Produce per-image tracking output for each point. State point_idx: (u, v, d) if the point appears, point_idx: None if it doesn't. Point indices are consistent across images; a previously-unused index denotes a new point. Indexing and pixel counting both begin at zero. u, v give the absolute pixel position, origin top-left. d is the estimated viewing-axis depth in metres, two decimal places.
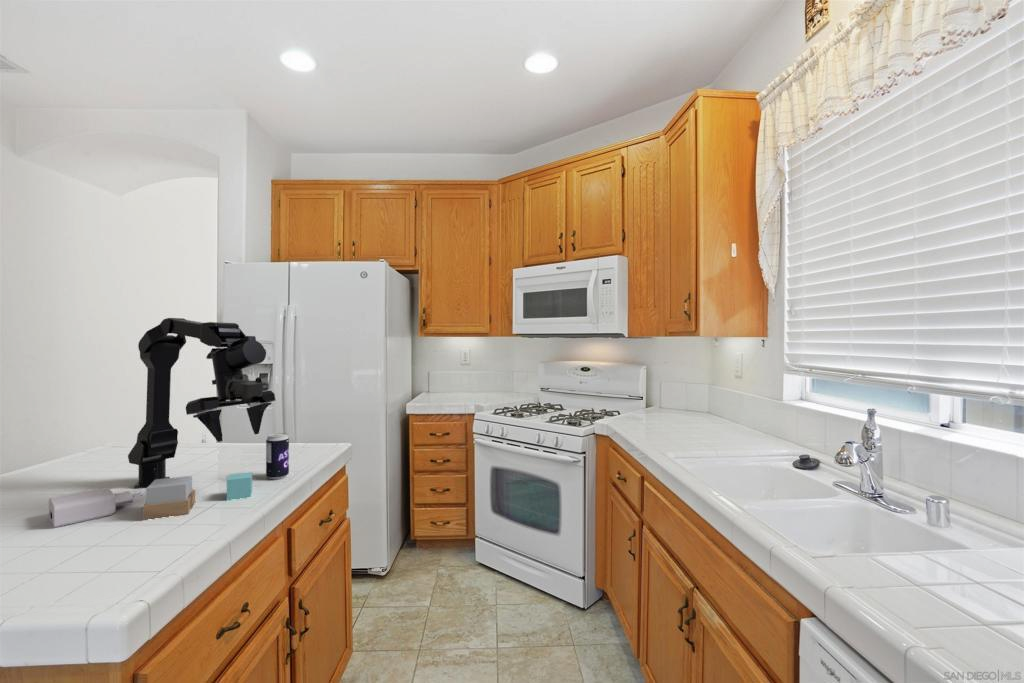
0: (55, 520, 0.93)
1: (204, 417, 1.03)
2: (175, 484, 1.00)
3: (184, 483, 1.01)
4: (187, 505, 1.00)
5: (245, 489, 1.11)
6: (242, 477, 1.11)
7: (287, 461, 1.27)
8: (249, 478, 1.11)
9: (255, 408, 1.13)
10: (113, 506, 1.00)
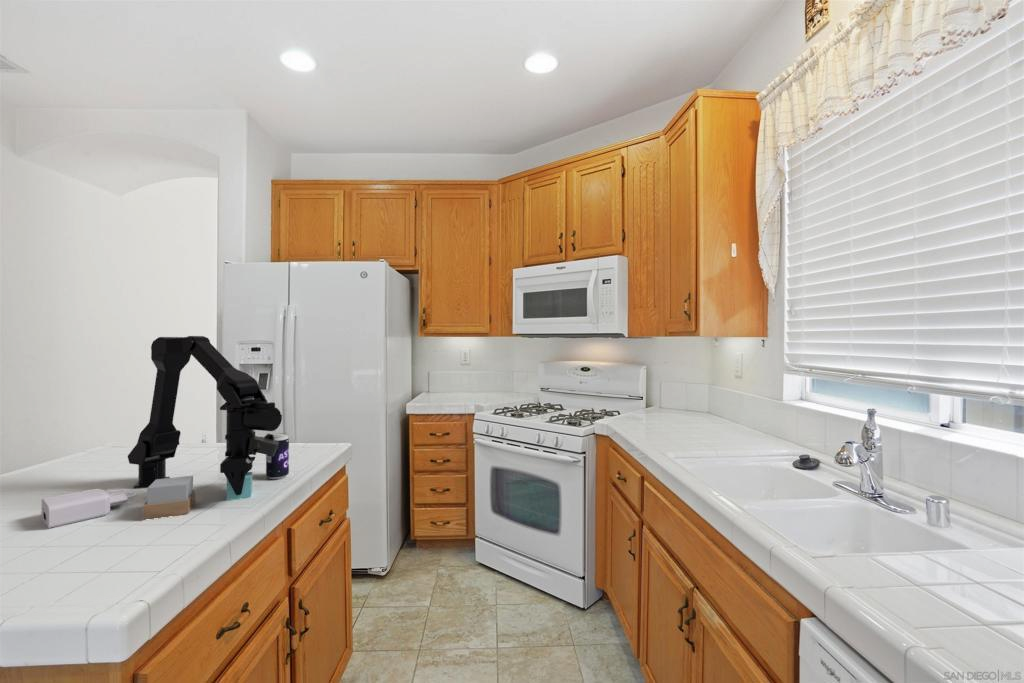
0: (50, 521, 0.92)
1: (231, 472, 1.08)
2: (176, 484, 1.00)
3: (185, 483, 1.01)
4: (187, 505, 1.00)
5: (245, 489, 1.11)
6: None
7: (287, 461, 1.27)
8: (249, 478, 1.11)
9: None
10: (108, 506, 1.00)
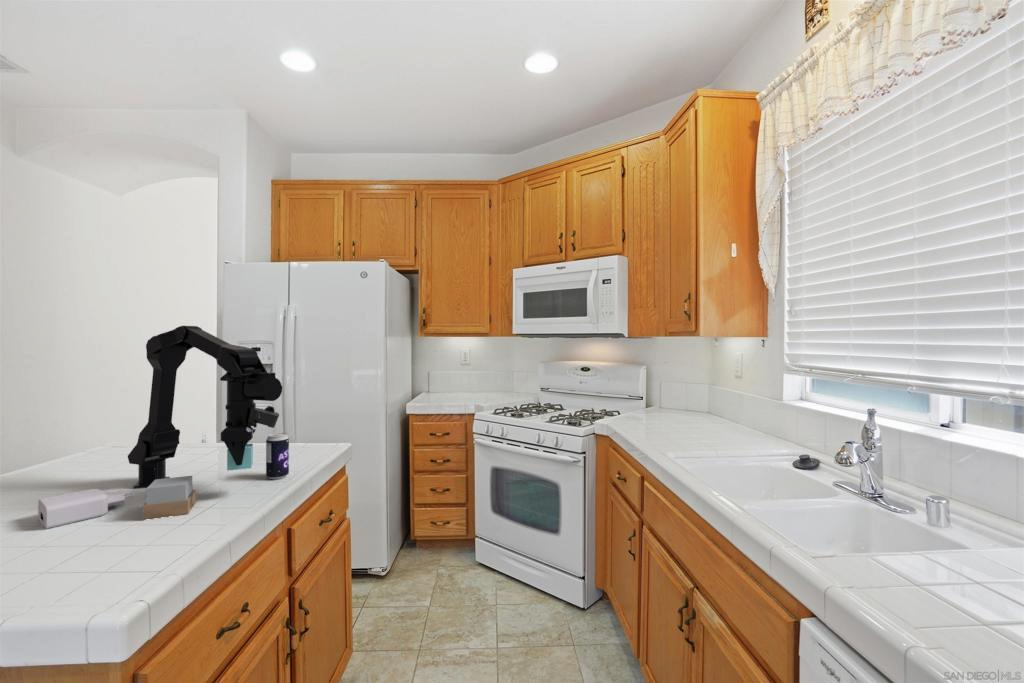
0: (47, 521, 0.92)
1: (231, 442, 1.08)
2: (175, 484, 1.00)
3: (184, 483, 1.01)
4: (187, 505, 1.00)
5: (246, 459, 1.11)
6: None
7: (287, 461, 1.27)
8: (250, 448, 1.11)
9: None
10: (105, 506, 1.00)
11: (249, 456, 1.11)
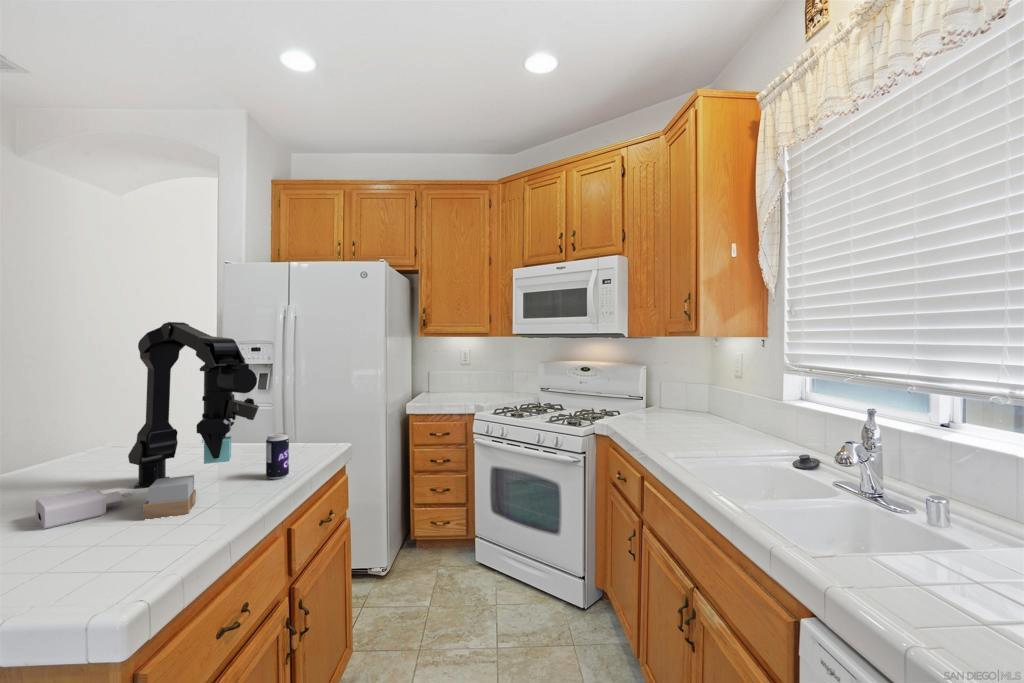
0: (46, 521, 0.92)
1: (208, 434, 1.04)
2: (177, 483, 1.00)
3: (186, 482, 1.01)
4: (187, 505, 1.00)
5: (223, 452, 1.07)
6: None
7: (287, 461, 1.27)
8: (228, 441, 1.08)
9: None
10: (104, 506, 1.00)
11: (227, 449, 1.08)
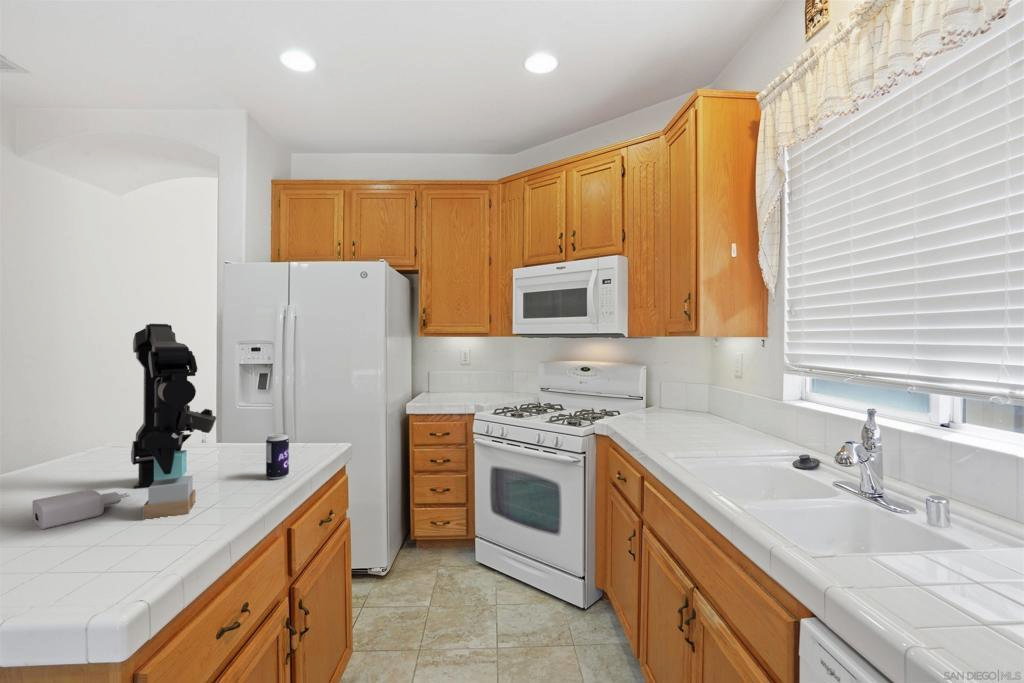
0: (43, 521, 0.92)
1: (158, 449, 0.98)
2: (177, 483, 1.01)
3: (186, 482, 1.01)
4: (187, 505, 1.00)
5: (175, 468, 1.00)
6: None
7: (287, 461, 1.27)
8: (180, 455, 1.01)
9: None
10: (101, 507, 0.99)
11: (179, 464, 1.01)
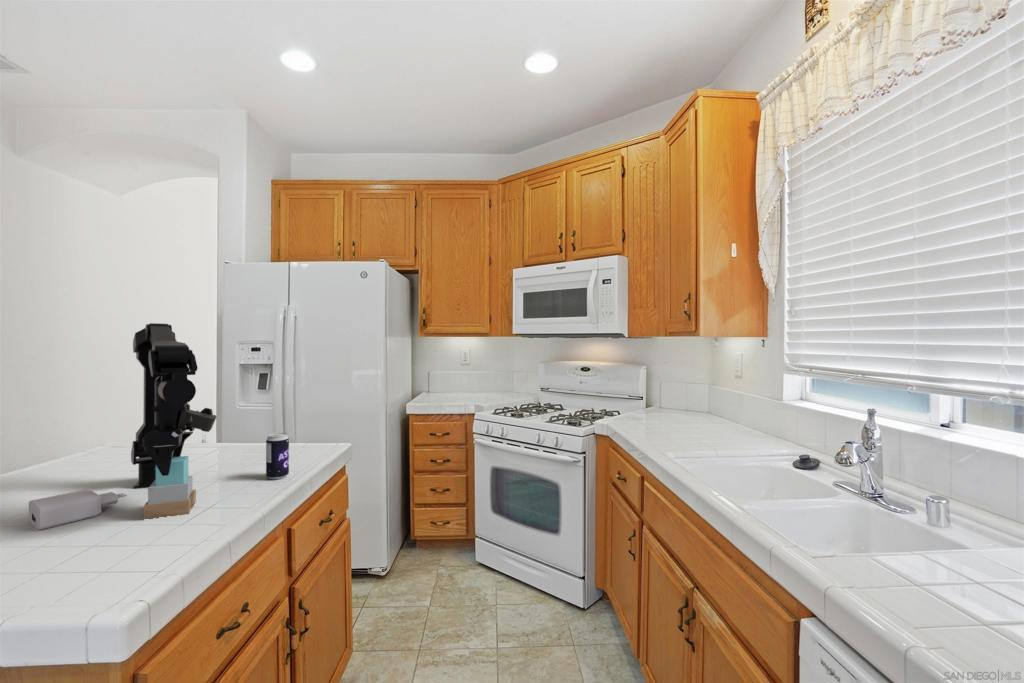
0: (41, 522, 0.91)
1: (155, 449, 0.96)
2: (177, 484, 1.01)
3: (186, 483, 1.01)
4: (188, 505, 1.00)
5: (177, 474, 1.01)
6: (174, 460, 1.01)
7: (287, 461, 1.27)
8: (182, 462, 1.01)
9: None
10: (99, 507, 0.99)
11: (181, 470, 1.01)
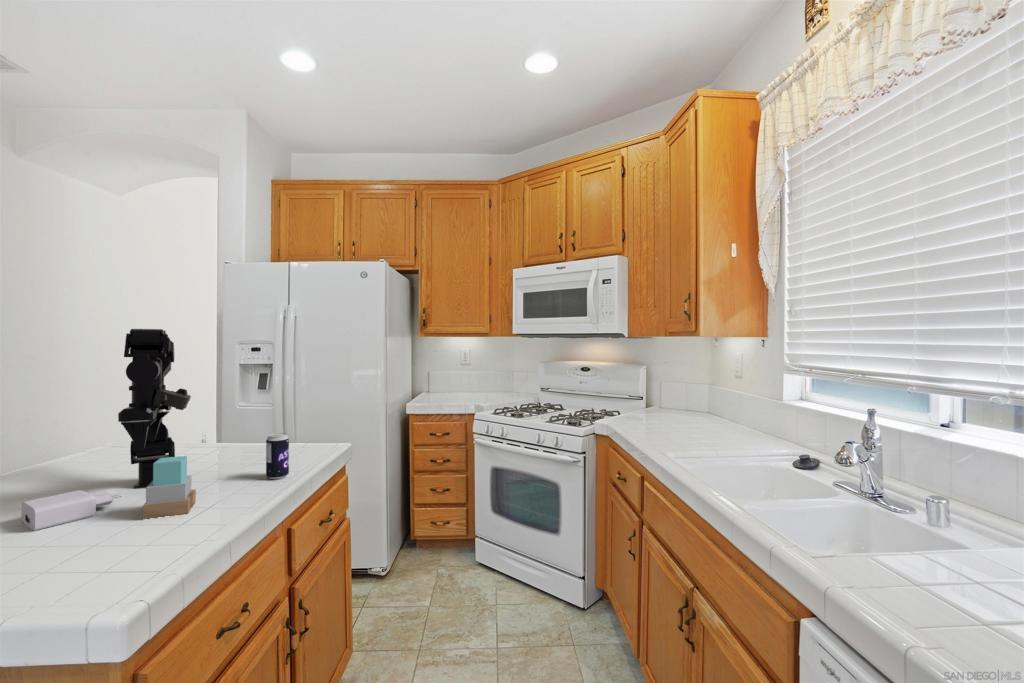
0: (36, 523, 0.91)
1: (131, 425, 1.03)
2: None
3: (183, 482, 1.01)
4: (187, 504, 1.00)
5: (175, 474, 1.00)
6: (172, 460, 1.01)
7: (287, 461, 1.27)
8: (179, 462, 1.01)
9: None
10: (94, 507, 0.99)
11: (179, 470, 1.01)
